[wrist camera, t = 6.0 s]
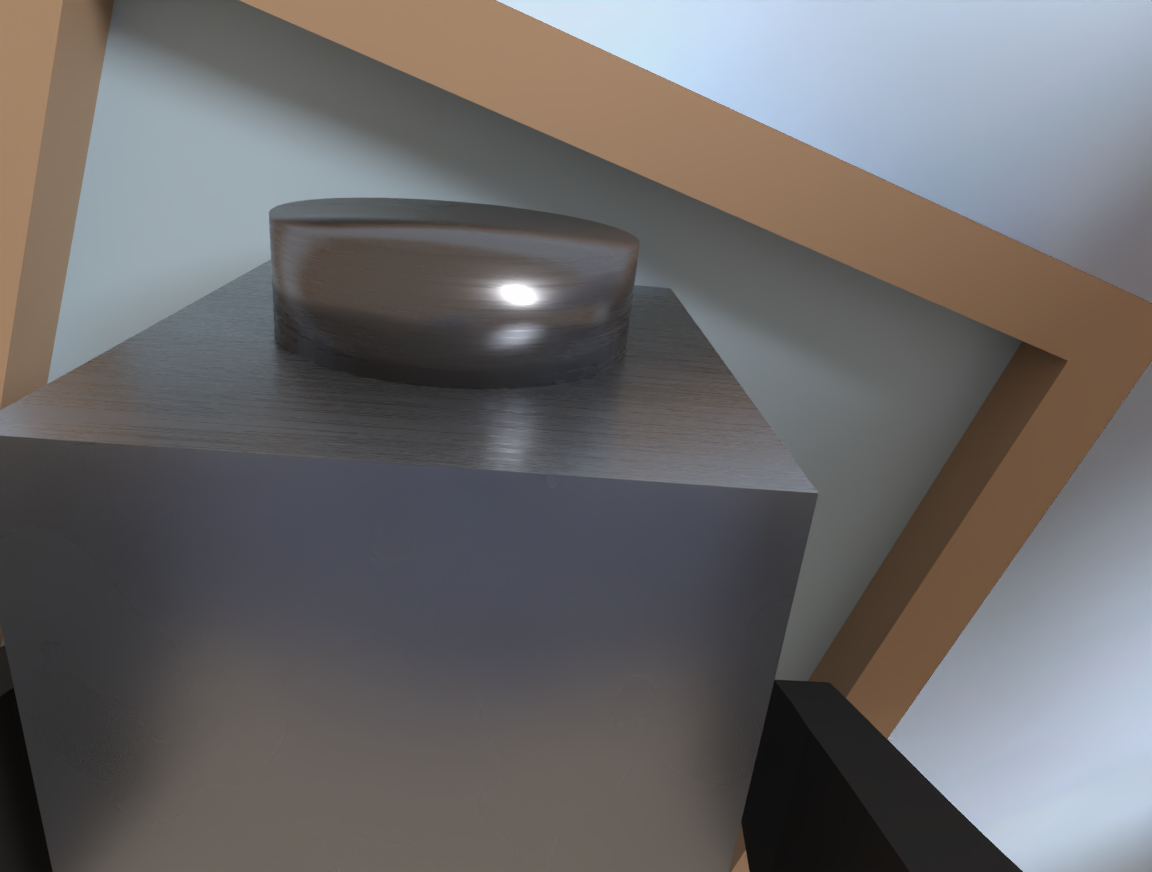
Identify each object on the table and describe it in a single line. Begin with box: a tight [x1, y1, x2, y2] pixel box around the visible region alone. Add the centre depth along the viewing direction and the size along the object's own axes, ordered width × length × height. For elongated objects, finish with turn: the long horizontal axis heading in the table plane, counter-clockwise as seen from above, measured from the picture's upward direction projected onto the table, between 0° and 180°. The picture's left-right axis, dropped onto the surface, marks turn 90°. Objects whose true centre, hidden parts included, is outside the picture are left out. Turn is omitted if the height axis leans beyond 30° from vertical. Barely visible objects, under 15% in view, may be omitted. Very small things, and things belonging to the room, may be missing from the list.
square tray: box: [0, 0, 1152, 872], centre depth 12 cm, size 14×14×3 cm
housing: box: [0, 198, 818, 872], centre depth 9 cm, size 9×5×6 cm, turn 175°
